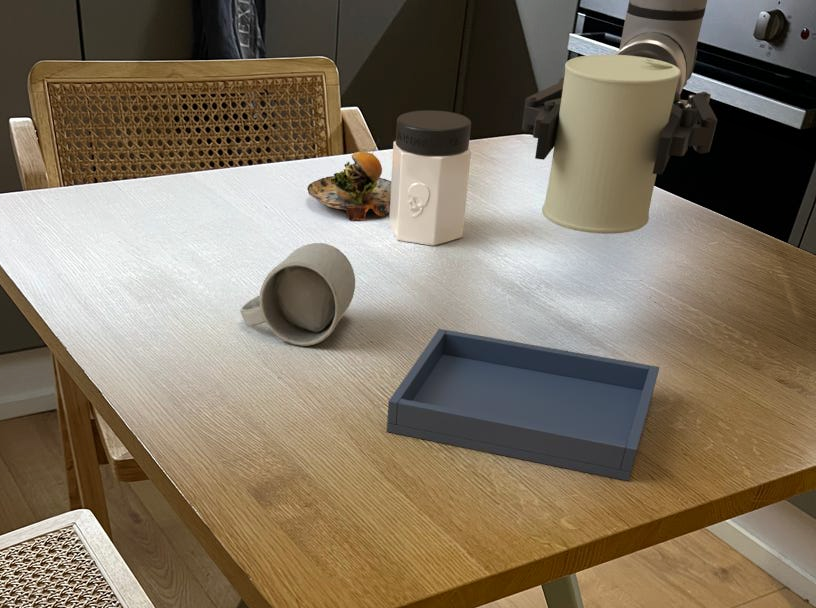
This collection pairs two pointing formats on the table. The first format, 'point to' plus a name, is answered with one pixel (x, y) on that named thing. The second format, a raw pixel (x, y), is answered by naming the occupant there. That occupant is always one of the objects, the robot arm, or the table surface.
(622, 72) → the can
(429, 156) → the jar
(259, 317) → the ceramic mug
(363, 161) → the burger
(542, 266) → the table surface
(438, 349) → the tray
